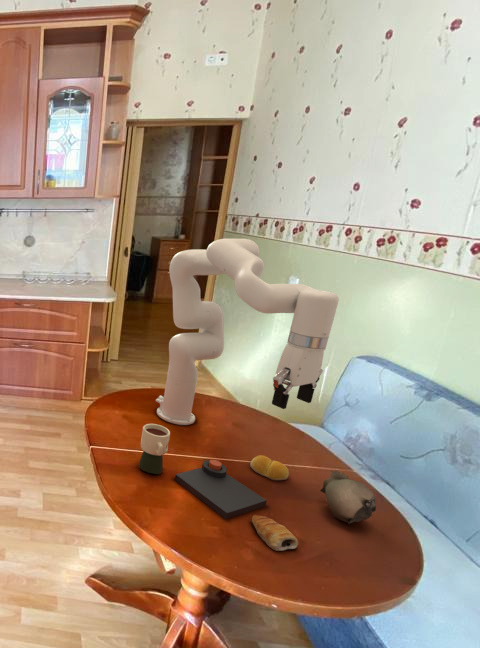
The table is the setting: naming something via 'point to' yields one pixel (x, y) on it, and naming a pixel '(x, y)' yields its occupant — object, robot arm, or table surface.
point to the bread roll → (269, 468)
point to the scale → (220, 491)
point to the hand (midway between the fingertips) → (291, 403)
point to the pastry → (274, 533)
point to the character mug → (153, 447)
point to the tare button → (215, 464)
